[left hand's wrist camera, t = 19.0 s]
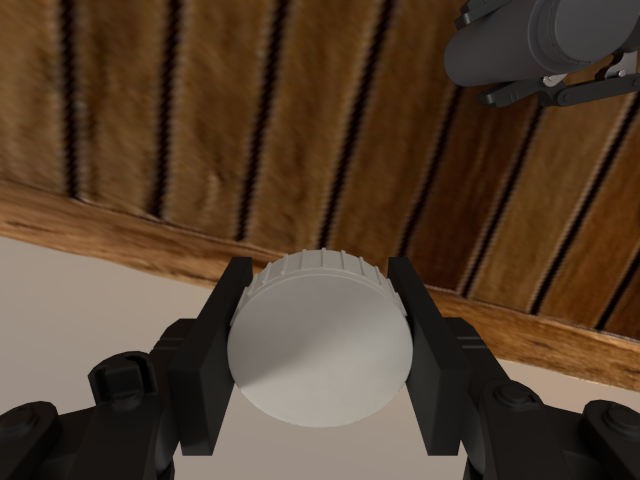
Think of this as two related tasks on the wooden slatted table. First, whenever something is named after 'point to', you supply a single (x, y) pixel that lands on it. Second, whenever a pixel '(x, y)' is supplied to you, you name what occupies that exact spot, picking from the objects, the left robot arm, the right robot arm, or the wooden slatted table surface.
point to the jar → (538, 39)
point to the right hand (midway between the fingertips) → (472, 62)
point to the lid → (320, 340)
